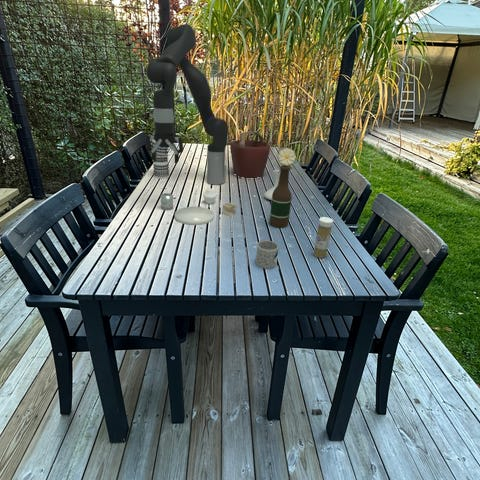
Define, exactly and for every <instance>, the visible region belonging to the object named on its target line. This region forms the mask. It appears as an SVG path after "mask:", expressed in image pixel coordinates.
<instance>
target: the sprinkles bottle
mask: <svg viewBox="0 0 480 480" xmlns="http://www.w3.org/2000/svg"><path fill="white" fill-rule="evenodd" d="M333 225H334V219H332V218H330V217H327V216H321V217H319V219H318V228H317V233H316V237H315V243H314V249H313V251H312V252H313V253H312V254H313V256H314V257H316V258H319V259H324V258H326V257H327V255H328V254H327V253H328V248H329V244H330V240H331V234H332V228H333Z"/></svg>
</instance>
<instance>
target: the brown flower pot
mask: <svg viewBox="0 0 480 480" xmlns="http://www.w3.org/2000/svg"><path fill="white" fill-rule="evenodd" d="M250 134H254V135H255V136H256V137H258V140H255V139H253V140H252V139H249V140H248V139H245V138H246V136H248V135H250ZM238 138H239V139H236V140H234V141H231V142H230V144H229V145H230V154H231V155H230V156H231V163H232V168H233V169H232V170H233V174H236V175H237V176H239V177H244V178H257V177H262V176H263V175H264V174H265V173H264V172H265V169H266V167H267V166H266V165H267V163H268V159H269V155H270V152H271V146H270V144H269V142H265V139H264V136H263V135H261V134H260V133H259V132H257V131H251V130H250V131H245V132H242V133H240V134H239V135H238ZM237 176H236V177H237ZM239 177H238V178H239ZM262 178H263V177H262Z"/></svg>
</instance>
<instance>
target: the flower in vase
mask: <svg viewBox="0 0 480 480" xmlns="http://www.w3.org/2000/svg"><path fill="white" fill-rule="evenodd" d="M277 156H278V157H277V159H278V161H279V163H280V164H282V165H286V166H289V167H290V170H289V171H291V170H293V166H292V164H294V162H295V161H296V157H297V156H296V153H295V151H294V149H291V148H288V147H286V148H284V149H281V150H280V151H279V153H278V155H277ZM274 167H276V168H278V169H275V170H273V171H272V172H273V175H274V185H273V187H271V188H270V189H268V190H267V191H266V192H264V194H263V197H265V199H268V200H269V201H272V194H273V191H274V189H275V188H276V187H277V186H278V182H279V177H280V171H281V169H280V167H281V166H278V165H276V164H275V163H274Z"/></svg>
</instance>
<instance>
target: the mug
mask: <svg viewBox="0 0 480 480" xmlns="http://www.w3.org/2000/svg"><path fill="white" fill-rule="evenodd" d="M279 246H280V245H279V244H278V243H277V242H274V241H272V240H266V239H264V240H261V241H258V242H257V247H256V258H255V264H256V266H257V268H261V269H264V270H271V269H274V268H276V266H277V264H278V263H277V262H278V253H279V248H280V247H279Z"/></svg>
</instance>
